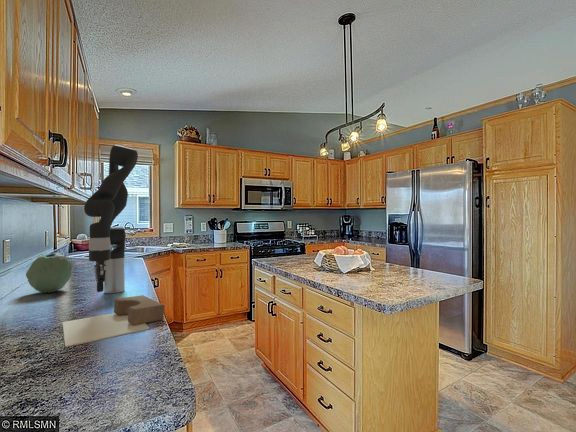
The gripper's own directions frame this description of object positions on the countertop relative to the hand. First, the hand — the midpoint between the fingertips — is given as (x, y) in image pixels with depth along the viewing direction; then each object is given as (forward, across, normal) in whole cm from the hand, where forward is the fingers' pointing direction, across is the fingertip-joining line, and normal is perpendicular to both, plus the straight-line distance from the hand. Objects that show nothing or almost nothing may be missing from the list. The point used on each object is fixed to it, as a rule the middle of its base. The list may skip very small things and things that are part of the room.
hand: (100, 291), depth 123 cm
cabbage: (+8, -54, -16) cm, 57 cm away
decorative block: (+5, +8, +9) cm, 13 cm away
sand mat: (+8, +21, -1) cm, 22 cm away
